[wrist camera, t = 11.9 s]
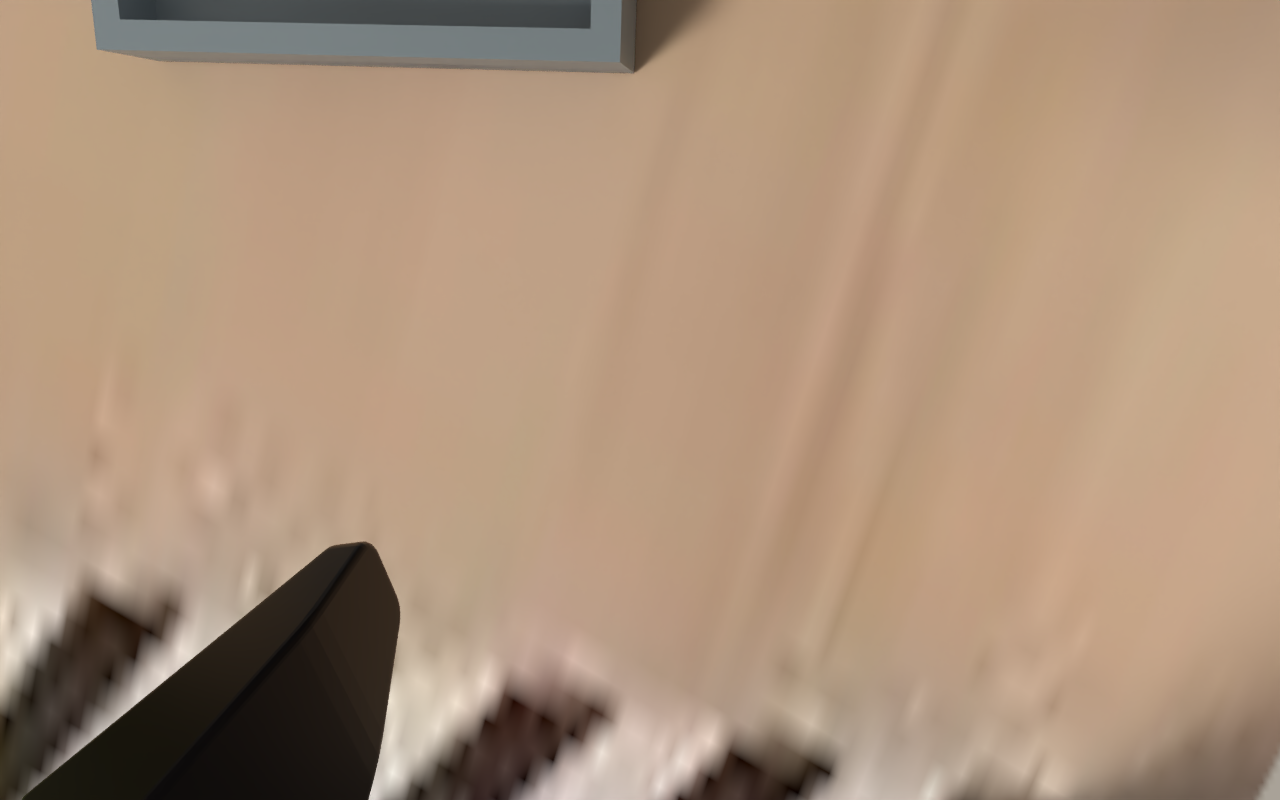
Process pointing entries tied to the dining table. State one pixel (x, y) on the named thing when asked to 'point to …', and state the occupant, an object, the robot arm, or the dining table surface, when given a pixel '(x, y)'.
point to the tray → (376, 33)
